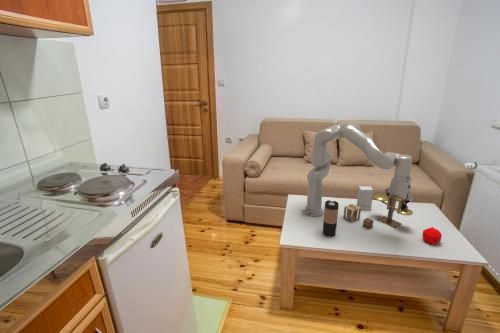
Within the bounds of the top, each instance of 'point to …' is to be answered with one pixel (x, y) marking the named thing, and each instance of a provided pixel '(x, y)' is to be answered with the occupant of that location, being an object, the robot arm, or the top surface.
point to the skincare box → (365, 197)
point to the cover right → (393, 203)
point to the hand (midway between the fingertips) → (396, 206)
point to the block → (368, 223)
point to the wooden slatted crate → (350, 213)
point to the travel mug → (330, 218)
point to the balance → (390, 212)
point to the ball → (432, 235)
